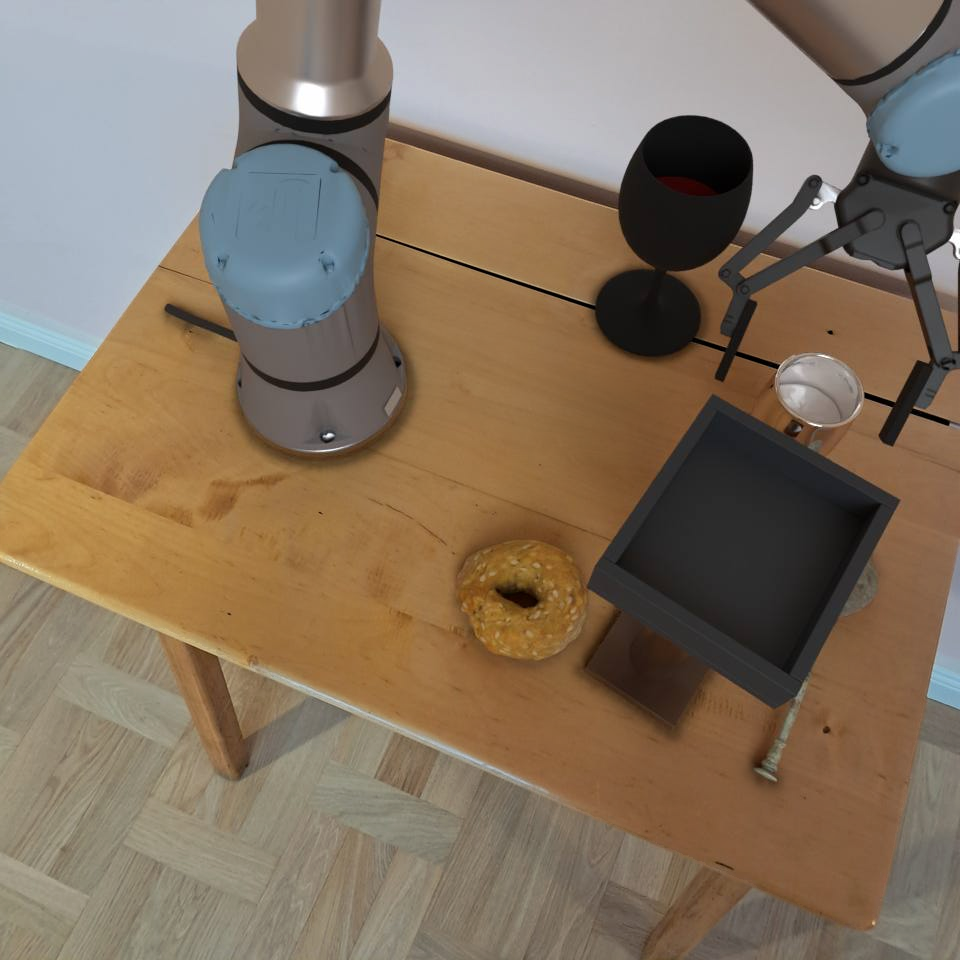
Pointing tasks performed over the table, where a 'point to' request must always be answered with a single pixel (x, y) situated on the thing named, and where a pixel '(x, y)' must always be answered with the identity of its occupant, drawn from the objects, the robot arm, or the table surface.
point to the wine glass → (674, 229)
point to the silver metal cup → (811, 400)
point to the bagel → (533, 573)
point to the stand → (647, 670)
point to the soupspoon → (855, 602)
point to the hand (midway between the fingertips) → (800, 409)
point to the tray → (745, 550)
